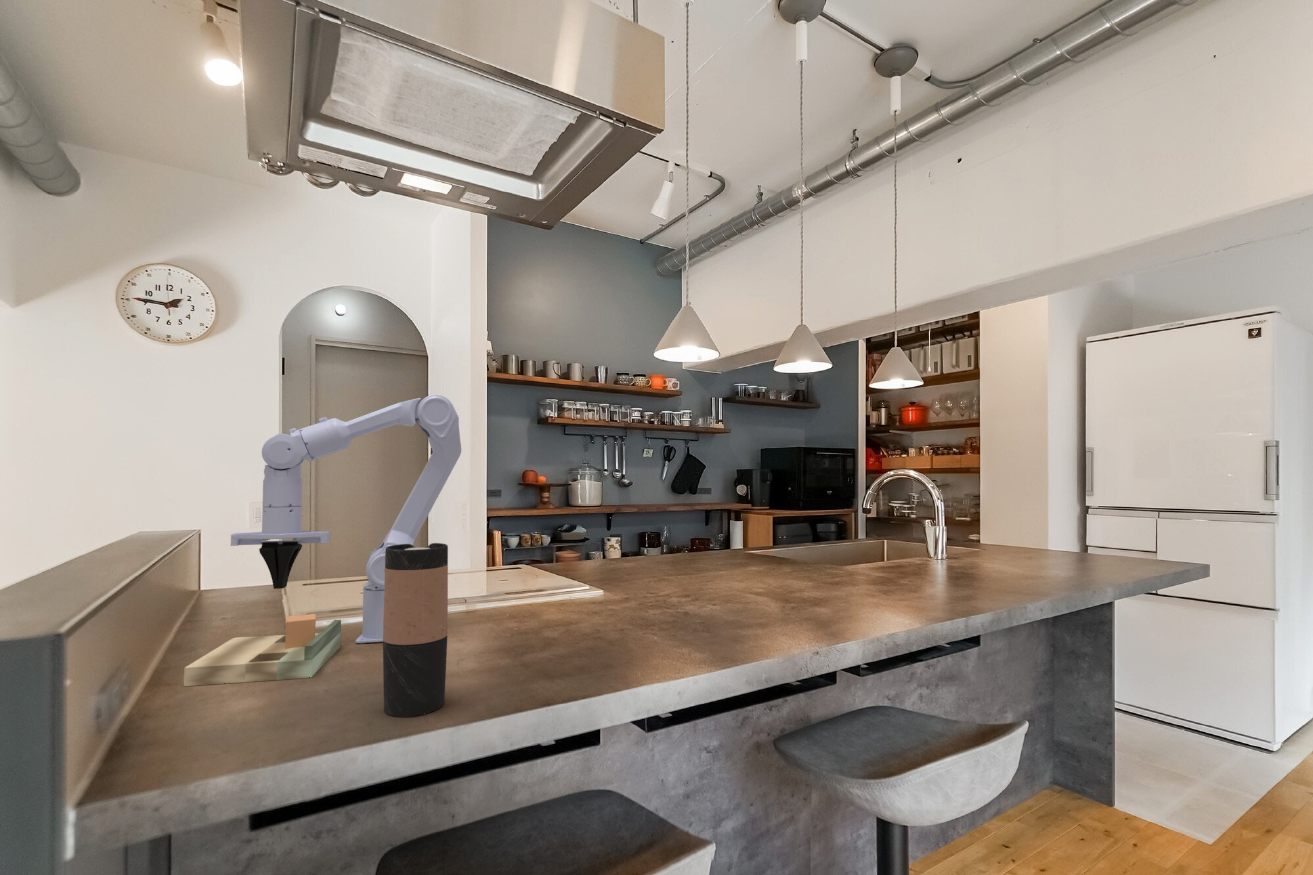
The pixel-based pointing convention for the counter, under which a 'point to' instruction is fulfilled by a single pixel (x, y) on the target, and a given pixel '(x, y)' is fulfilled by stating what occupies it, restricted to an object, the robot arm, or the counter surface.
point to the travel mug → (415, 628)
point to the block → (299, 630)
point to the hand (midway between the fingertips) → (280, 587)
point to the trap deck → (263, 659)
